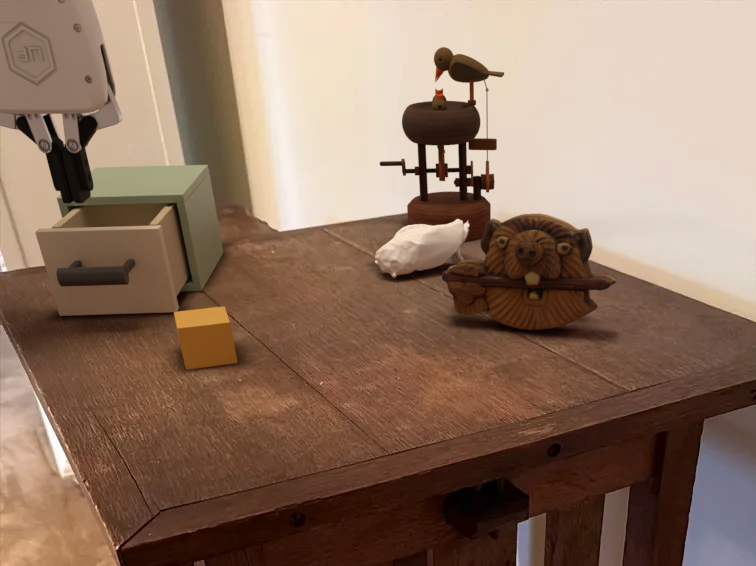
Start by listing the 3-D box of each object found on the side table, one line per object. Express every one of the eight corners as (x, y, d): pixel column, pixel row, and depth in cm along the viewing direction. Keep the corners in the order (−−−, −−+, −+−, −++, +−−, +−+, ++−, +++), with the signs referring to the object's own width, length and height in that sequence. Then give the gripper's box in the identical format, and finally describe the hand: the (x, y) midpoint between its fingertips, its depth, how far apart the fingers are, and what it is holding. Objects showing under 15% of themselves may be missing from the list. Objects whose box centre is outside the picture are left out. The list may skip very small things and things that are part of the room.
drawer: (166, 329, 86) (146, 243, 81) (43, 334, 86) (16, 246, 81) (201, 271, 101) (186, 194, 96) (96, 274, 100) (76, 198, 96)
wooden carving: (438, 330, 88) (433, 219, 82) (450, 315, 91) (446, 207, 85) (609, 342, 85) (618, 227, 79) (614, 325, 88) (623, 214, 82)
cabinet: (201, 291, 98) (182, 194, 92) (83, 294, 98) (56, 197, 92) (223, 253, 110) (207, 164, 104) (117, 256, 109) (95, 167, 103)
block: (187, 378, 79) (176, 328, 77) (184, 360, 83) (173, 311, 80) (239, 371, 80) (230, 321, 78) (233, 354, 84) (224, 305, 81)
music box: (492, 216, 122) (495, 39, 108) (510, 246, 114) (516, 58, 100) (378, 223, 119) (367, 43, 106) (389, 253, 111) (377, 63, 98)
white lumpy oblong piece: (441, 270, 107) (366, 262, 102) (457, 211, 103) (379, 199, 98) (461, 289, 105) (385, 282, 99) (479, 229, 101) (400, 218, 95)
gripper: (-107, -57, 67) (-24, 211, 79) (99, -56, 68) (152, 209, 79) (-66, -59, 73) (6, 191, 85) (124, -58, 74) (170, 189, 85)
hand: (77, 199), depth 82 cm, fingers closed
